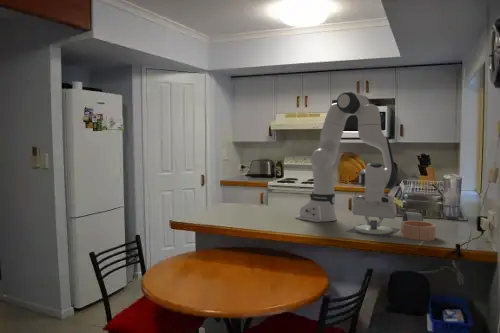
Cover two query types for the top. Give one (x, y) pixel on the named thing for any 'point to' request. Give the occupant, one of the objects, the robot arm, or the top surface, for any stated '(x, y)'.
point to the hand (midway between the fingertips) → (373, 226)
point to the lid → (373, 229)
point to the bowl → (418, 230)
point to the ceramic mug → (412, 216)
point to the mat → (374, 234)
